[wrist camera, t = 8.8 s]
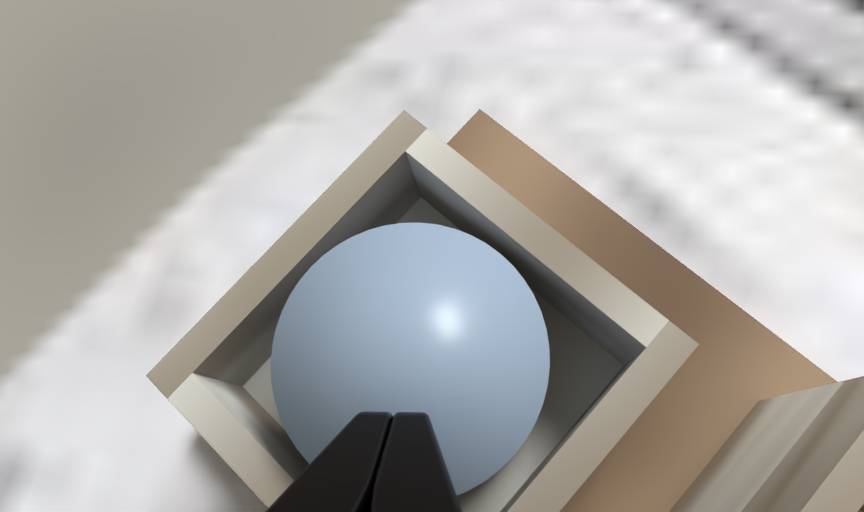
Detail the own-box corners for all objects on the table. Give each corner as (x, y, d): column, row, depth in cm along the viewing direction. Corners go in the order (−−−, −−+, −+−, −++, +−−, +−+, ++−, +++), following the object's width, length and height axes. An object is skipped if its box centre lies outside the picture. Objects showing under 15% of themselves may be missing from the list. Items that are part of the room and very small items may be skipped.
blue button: (272, 384, 12) (215, 367, 10) (421, 224, 12) (401, 171, 10) (434, 547, 11) (414, 572, 9) (590, 367, 11) (610, 344, 9)
